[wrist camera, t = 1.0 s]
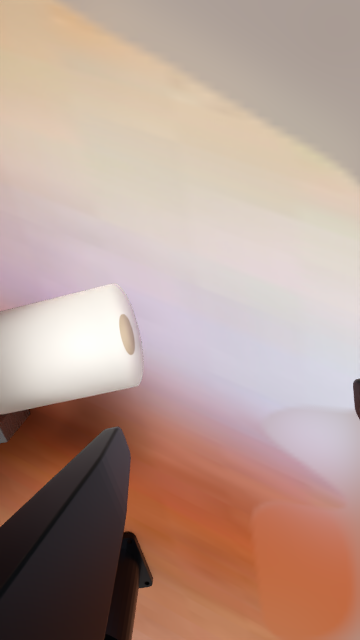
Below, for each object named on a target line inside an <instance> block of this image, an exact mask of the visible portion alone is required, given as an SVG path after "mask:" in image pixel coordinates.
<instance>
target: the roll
mask: <svg viewBox="0 0 360 640" xmlns="http://www.w3.org/2000/svg"><path fill="white" fill-rule="evenodd" d="M142 376H143V349H142V342H141V337H140V332H139V328H138V324H137V321H136V318H135V315H134V311H133V309H132V306H131V304H130V302H129V300H128V298H127V296H126V294H125V292H124V291H123V290H122V288H121V287H120V286H118V285H117V284H109V285H105V286H101V287H97V288H93V289H89V290H85V291H81V292H77V293H73V294H69V295H65V296H61V297H57V298H53V299H49V300H44V301H40V302H36V303H32V304H28V305H24V306H20V307H16V308H12V309H8V310H4V311H0V414H7V413H12V412H17V411H22V410H27V409H31V408H36V407H41V406H46V405H51V404H55V403H60V402H65V401H70V400H75V399H79V398H84V397H89V396H94V395H99V394H103V393H108V392H113V391H118V390H123V389H127V388H132V387H136V386H138V385H139V384H140V382H141V380H142Z"/></svg>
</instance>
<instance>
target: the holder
mask: <svg viewBox="0 0 360 640" xmlns="http://www.w3.org/2000/svg"><path fill="white" fill-rule="evenodd" d="M29 415H30V412H29V410H28V409H27V410H22V411H17V412H12V413H7V414H0V443H4V442H8V441H9V439H10V438H11V437H12V436H13V435H14V433H15V432H16V431H17V430H18V428H19V427H20V426H21V425H22V424H23V422H24V421H25V420H26V419H27V418H28V416H29Z"/></svg>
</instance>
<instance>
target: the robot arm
mask: <svg viewBox="0 0 360 640" xmlns="http://www.w3.org/2000/svg"><path fill="white" fill-rule="evenodd" d="M353 390H354V403H355V410H356V413H357V415H358V417H359V419H360V379H356V380H355V381H354V383H353ZM130 460H131V457H130V450H129V447H128V445H127V442H126V439H125V437H124V434H123V431H122V430H121V428H120V427H113V428H108V429H105V430H103V431H102V432H101V433H100V434H99V435H98V436H97V437H96V438H95V439H94V440H93V441H92V442H91V443H90V444H89V445H87V446H86V447H85V448H84V449H83V450H82V451H81V452H80V453H79V454H78V455H77V456H76V457H75V458H74V459H73V460H71V461H70V462H69V463H68V464H67V465H66V466H65V467H64V468H63V469H62V470H61V471H60V472H59V473H58V474H57V475H55V476H54V477H53V478H52V479H51V480H50V481H49V482H48V483H47V484H46V485H45V486H44V487H43V488H42V489H41V490H39V491H38V492H37V493H36V494H35V495H34V496H33V497H32V498H31V499H30V500H29V501H28V502H27V503H26V504H25V505H23V506H22V507H21V508H20V509H19V510H18V511H17V512H16V513H15V514H14V515H13V516H12V517H11V518H10V519H9V520H7V521H6V522H5V523H4V524H3V525H2V526H1V527H0V640H131V639H132V632H133V625H134V618H135V610H136V603H137V596H138V588H144V587H150V586H152V583H153V577H152V575H151V572H150V570H149V567H148V565H147V562H146V560H145V557H144V555H143V553H142V550H141V548H140V545H139V543H138V540H137V538H136V536H135V535H134V534H132V533H127V534H123V532H124V526H125V520H126V511H127V499H128V486H129V473H130Z"/></svg>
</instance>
